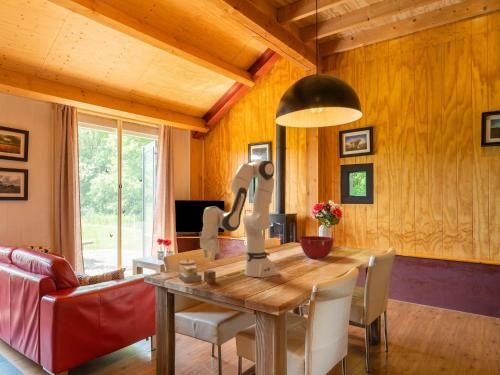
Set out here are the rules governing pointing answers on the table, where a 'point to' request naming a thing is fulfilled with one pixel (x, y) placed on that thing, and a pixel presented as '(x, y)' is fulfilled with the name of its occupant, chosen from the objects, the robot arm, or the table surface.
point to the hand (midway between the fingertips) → (209, 258)
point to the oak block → (190, 270)
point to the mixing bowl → (316, 246)
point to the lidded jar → (186, 264)
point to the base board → (190, 277)
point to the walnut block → (209, 276)
